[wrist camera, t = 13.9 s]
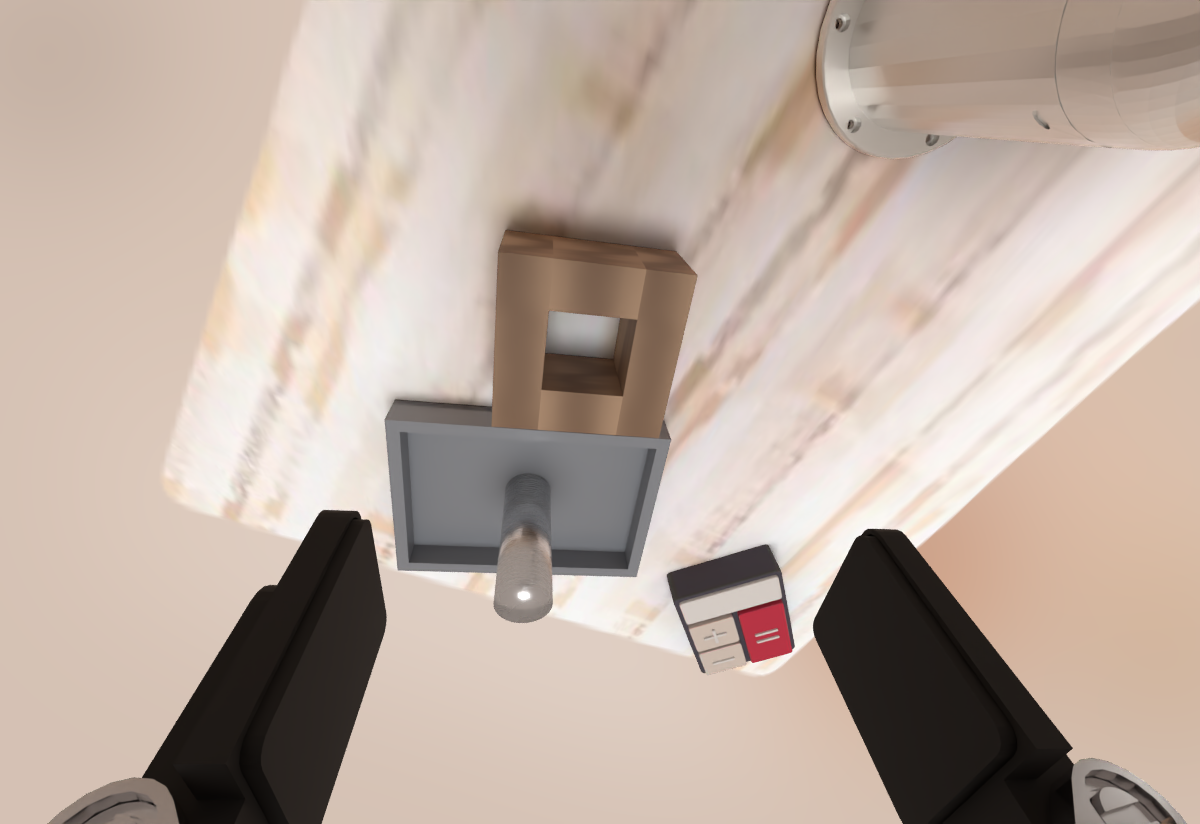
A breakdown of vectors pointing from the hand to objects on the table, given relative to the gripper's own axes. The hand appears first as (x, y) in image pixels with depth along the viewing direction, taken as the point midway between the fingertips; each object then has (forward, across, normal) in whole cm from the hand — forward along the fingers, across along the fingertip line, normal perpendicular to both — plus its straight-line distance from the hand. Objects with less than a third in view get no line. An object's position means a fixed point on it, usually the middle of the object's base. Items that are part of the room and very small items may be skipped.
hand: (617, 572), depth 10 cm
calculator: (+30, -20, +38) cm, 53 cm away
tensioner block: (+29, -1, +6) cm, 30 cm away
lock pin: (+28, +2, +22) cm, 36 cm away
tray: (+29, +3, +22) cm, 37 cm away
